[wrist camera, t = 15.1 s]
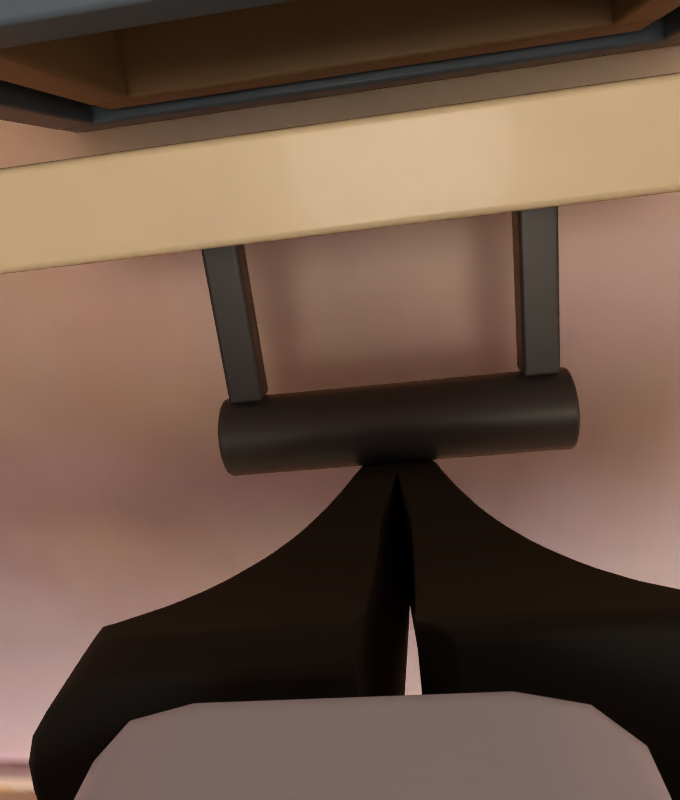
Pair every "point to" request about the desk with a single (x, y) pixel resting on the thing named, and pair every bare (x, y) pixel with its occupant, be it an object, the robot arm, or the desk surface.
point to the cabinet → (153, 3)
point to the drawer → (349, 196)
